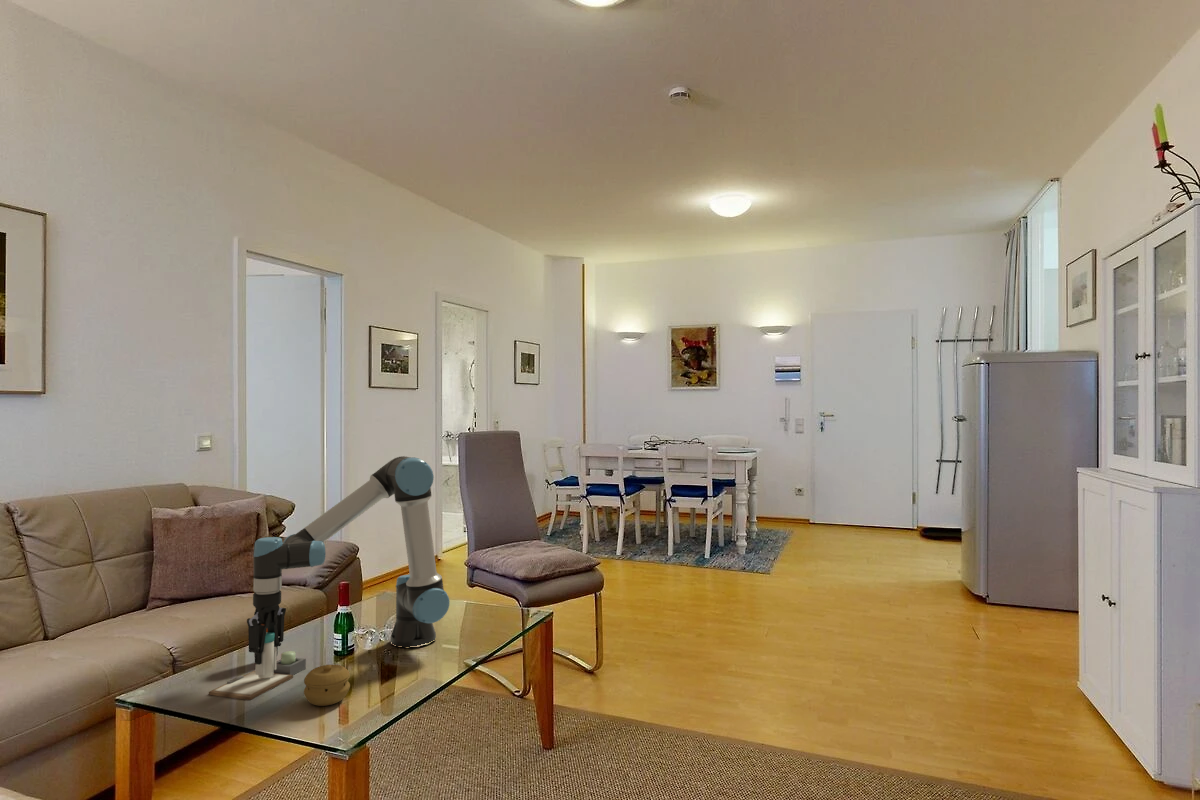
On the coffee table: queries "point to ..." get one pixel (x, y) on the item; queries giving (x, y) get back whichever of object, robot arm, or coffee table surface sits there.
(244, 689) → the drawing board
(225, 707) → the coffee table surface
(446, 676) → the coffee table surface
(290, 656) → the button
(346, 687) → the pot
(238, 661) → the coffee table surface
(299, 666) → the button housing
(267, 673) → the marker
